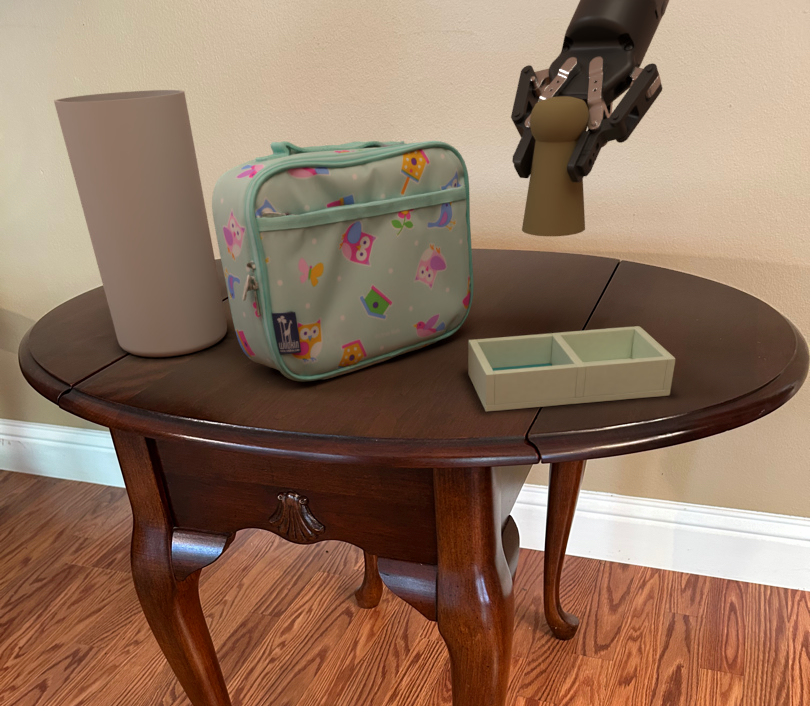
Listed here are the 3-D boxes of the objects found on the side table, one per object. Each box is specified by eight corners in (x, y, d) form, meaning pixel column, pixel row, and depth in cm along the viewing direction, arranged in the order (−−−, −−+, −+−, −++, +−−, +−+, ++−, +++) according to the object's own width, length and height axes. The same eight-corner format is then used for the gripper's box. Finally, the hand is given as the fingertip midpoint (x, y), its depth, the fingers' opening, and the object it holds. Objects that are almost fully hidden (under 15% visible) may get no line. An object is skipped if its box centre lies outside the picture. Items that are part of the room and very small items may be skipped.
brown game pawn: (566, 239, 70) (575, 101, 63) (509, 232, 73) (513, 100, 67) (596, 225, 73) (607, 93, 67) (541, 219, 77) (547, 93, 70)
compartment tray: (635, 360, 78) (639, 325, 76) (669, 395, 71) (675, 358, 69) (468, 374, 77) (468, 339, 75) (485, 411, 70) (486, 374, 68)
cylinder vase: (199, 362, 83) (144, 99, 69) (98, 357, 86) (26, 103, 72) (245, 324, 93) (205, 88, 79) (153, 321, 96) (99, 92, 82)
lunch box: (272, 404, 73) (233, 158, 61) (226, 373, 80) (183, 147, 68) (482, 338, 86) (485, 122, 74) (426, 316, 93) (421, 116, 81)
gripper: (539, -21, 71) (464, 143, 70) (690, -34, 63) (607, 150, 62) (564, 44, 77) (496, 194, 76) (704, 39, 69) (629, 207, 68)
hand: (546, 173), depth 69 cm, fingers closed on brown game pawn, 5 cm apart
